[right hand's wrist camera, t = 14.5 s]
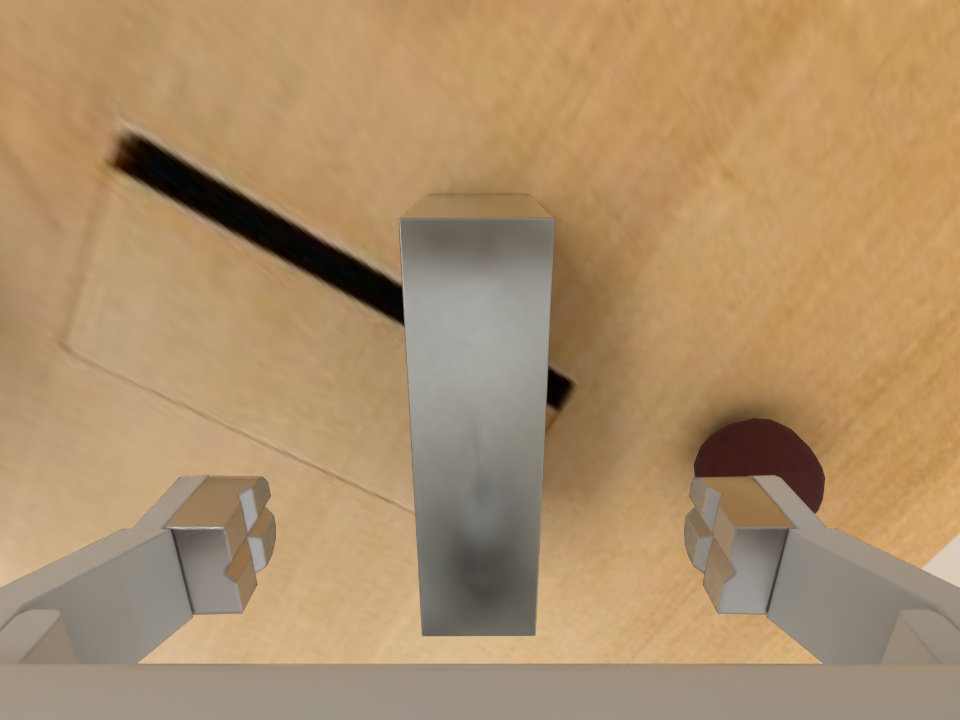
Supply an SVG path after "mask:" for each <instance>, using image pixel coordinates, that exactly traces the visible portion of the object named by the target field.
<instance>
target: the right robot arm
mask: <svg viewBox="0 0 960 720" xmlns="http://www.w3.org/2000/svg"><path fill="white" fill-rule="evenodd" d="M270 497H271V494H270V490H269V485H268V481H267V480H266V479H265V478H264V477H253V476H209V475H202V476H183V477H179V478H178V479H177V481H176V482H175V483H174V484H173V485H172V486H171V487H170V488H169V489H168V490H167V491H166V492H165V493H164V495H163V496H162V497H161V498H160V499H159V500H158V501H157V502H156V503H155V504H154V505H153V506H152V507H151V509H150V510H149V511H148V512H147V513H146V514H145V515H144V516H143V517H142V518H141V519H140V520H139V521H138V523H137V524H136V525H135V526H134V527H133V528H132V529H122V530H120V531H117V532H115V533H113V534H111V535H109V536H107V537H105V538H103V539H101V540H99V541H97V542H95V543H92V544H90V545H88V546H86V547H84V548H82V549H80V550H78V551H76V552H74V553H72V554H70V555H67V556H65V557H63V558H61V559H59V560H57V561H55V562H53V563H51V564H49V565H47V566H45V567H43V568H40V569H38V570H36V571H34V572H32V573H30V574H28V575H26V576H24V577H22V578H20V579H18V580H15V581H13V582H11V583H9V584H7V585H5V586H3V587H1V588H0V720H960V588H959V587H957V586H955V585H953V584H950V583H948V582H946V581H944V580H942V579H940V578H938V577H936V576H934V575H932V574H930V573H928V572H925V571H924V570H921V569H919V568H917V567H915V566H913V565H911V564H909V563H907V562H905V561H903V560H901V559H899V558H897V557H894V556H892V555H890V554H888V553H886V552H884V551H882V550H880V549H878V548H876V547H874V546H872V545H870V544H867V543H865V542H863V541H861V540H859V539H857V538H855V537H853V536H851V535H849V534H847V533H845V532H843V531H840V530H838V529H828V528H827V527H826V526H825V525H824V524H823V523H822V521H821V520H820V519H819V518H818V517H817V516H816V515H815V514H814V513H813V512H812V511H811V510H810V509H809V507H808V506H807V505H806V504H805V503H804V502H803V501H802V500H801V499H800V498H799V497H798V496H797V495H796V493H795V492H794V491H793V490H792V489H791V488H790V487H789V486H788V485H787V484H786V483H785V482H784V480H783V479H782V478H780V477H778V476H775V475H765V476H746V477H696V478H694V480H693V482H692V484H691V489H690V494H689V497H690V498H691V500H692V502H693V503H694V505H695V507H694V508H693V509H692V510H691V511H690V512H689V513H688V514H687V515H686V518H685V526H684V537H685V546H686V550H687V553H688V556H689V558H690V560H691V562H692V564H693V566H694V567H695V568H697V569H698V570H700V571H701V572H702V573H704V574H705V575H704V580H703V586H704V588H705V590H706V592H707V594H708V595H709V597H710V599H711V601H712V603H713V605H714V607H715V609H716V611H717V613H722V614H758V615H767V618H769V619H770V620H771V621H772V622H773V623H775V624H776V625H777V626H778V627H780V628H781V629H782V630H783V631H784V632H786V633H787V634H788V635H789V636H791V637H792V638H793V639H794V640H795V641H797V642H798V643H799V644H800V645H801V646H803V647H804V648H805V649H806V650H808V651H809V652H810V653H811V654H812V655H814V656H815V657H816V658H817V659H818V660H820V661H821V662H822V663H823V664H137V663H138V662H139V661H140V660H142V659H143V658H144V657H145V656H147V655H148V654H149V653H150V652H151V651H153V650H154V649H155V648H156V647H158V646H159V645H160V644H161V643H162V642H164V641H165V640H166V639H167V638H168V637H170V636H171V635H172V634H173V633H175V632H176V631H177V630H178V629H179V628H181V627H182V626H183V625H184V624H186V623H187V622H188V621H189V620H190V619H192V618H193V615H202V614H236V613H243V611H244V609H245V607H246V605H247V603H248V601H249V599H250V597H251V596H252V594H253V592H254V590H255V588H256V586H257V580H256V575H255V574H256V573H258V572H259V571H260V570H262V569H263V568H265V567H266V566H267V564H268V562H269V560H270V558H271V556H272V553H273V549H274V544H275V540H276V525H275V518H274V515H273V514H272V513H271V512H270V511H269V510H268V509H267V508H266V507H265V505H266V503H267V502H268V500H269V498H270Z"/></svg>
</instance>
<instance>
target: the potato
mask: <svg viewBox="0 0 960 720" xmlns="http://www.w3.org/2000/svg"><path fill="white" fill-rule="evenodd" d="M694 470H695V478H696V477H746V476H765V475H775V476H778V477H780V478H782V479H783V480H784V482H785V483H786V484H787V485H788V486H789V487H790V488H791V489H792V490H793V491H794V492H795V493H796V495H797V496H798V497H799V498H800V499H801V500H802V501H803V502H804V503H805V504H806V505H807V506H808V507H809V509H810V510H811V511H812V512H813V513H814V514H815V513H816V512H817V511H818V510H819V507H820V505H821V502H822V500H823V493H824V484H825V476H824V473H823V469H822V467H821V465H820V463H819V461H818V460H817V458H816V456H815V455H814V453H813V452H812V450H811V449H810V447H809V446H808V445H807V444H806V443H805V442H804V441H803V440H802V439H801V438H800V437H799V436H798V435H797V434H796V433H795V432H794V431H792V430H791V429H790V428H788V427H785V426H783V425H781V424H779V423H777V422H775V421H772V420H769V419H756V418H754V419H749V420H745V421H742V422H738V423H735V424H731V425H728V426H726V427H725V428H723V429H721V430H719V431H718V432H716V433H714V434H713V435H711V436H710V437H709V438H708V439H707V440H706V441H705V443H704V444H703V445H702V446H701V447H700V450H699V452H698V455H697V458H696V460H695V463H694Z"/></svg>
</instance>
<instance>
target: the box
mask: <svg viewBox="0 0 960 720" xmlns="http://www.w3.org/2000/svg"><path fill="white" fill-rule="evenodd" d="M554 231H555V218H554V217H553V216H552V215H551V214H550V213H549V212H547V211H546V210H545V209H544V208H543V207H542V206H541V205H540V204H539V203H538V202H536V201H535V200H534V199H533V198H532V197H531V196H530V195H426V196H425V197H423V198H422V199H421V200H420V201H419V202H418V203H416V204H415V205H414V206H413V207H412V208H411V209H409V210H408V211H407V212H406V213H405V214H404V215H403V216H401V217H400V218H399V234H400V252H401V270H402V288H403V306H404V323H405V341H406V359H407V377H408V395H409V412H410V430H411V448H412V466H413V484H414V501H415V519H416V537H417V555H418V572H419V590H420V608H421V626H422V636H535V635H536V616H537V595H538V573H539V552H540V531H541V509H542V488H543V466H544V445H545V424H546V402H547V381H548V359H549V338H550V317H551V295H552V274H553V252H554Z"/></svg>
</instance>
